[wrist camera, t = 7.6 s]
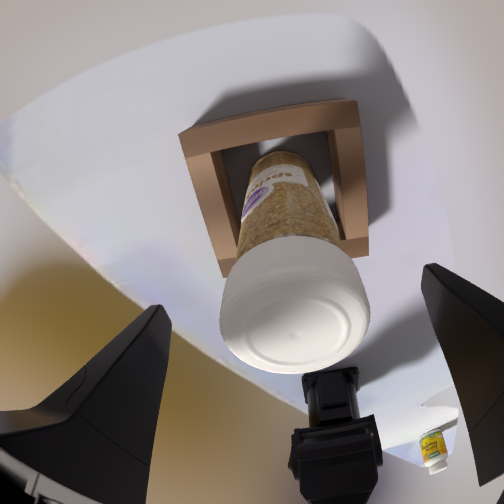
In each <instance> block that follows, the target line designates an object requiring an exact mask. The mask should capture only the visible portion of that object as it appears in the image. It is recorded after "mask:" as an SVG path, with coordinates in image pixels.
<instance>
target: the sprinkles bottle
mask: <svg viewBox="0 0 504 504" xmlns="http://www.w3.org/2000/svg"><path fill="white" fill-rule="evenodd" d="M219 323H220V331H221V334H222V337H223V339H224V341H225V343H226V345H227V346H228V348H229V349H230V350H231V351H232V352H233V353H234V354H235V355H236V356H237V357H238V358H239V359H241V360H242V361H244V362H245V363H247V364H249V365H251V366H253V367H256V368H258V369H261V370H264V371H268V372H273V373H281V374H299V373H307V372H313V371H317V370H320V369H323V368H326V367H328V366H331V365H333V364H335V363H337V362H339V361H340V360H342V359H344V358H345V357H346V356H348V355H349V354H350V353H351V352H353V351H354V349H355V348H356V347H357V346H358V345H359V344H360V342H361V341H362V340H363V338H364V336H365V334H366V332H367V330H368V326H369V323H370V306H369V302H368V298H367V295H366V292H365V288H364V286H363V283H362V280H361V277H360V275H359V272H358V270H357V268H356V266H355V264H354V262H353V261H352V259H351V258H350V257H349V256H348V255H347V254H346V253H345V250H344V247H343V245H342V243H341V239H340V237H339V231H338V227H337V224H336V222H335V219H334V217H333V215H332V212H331V210H330V208H329V206H328V203H327V201H326V199H325V196H324V194H323V192H322V190H321V188H320V186H319V184H318V182H317V181H316V179H315V175H314V173H313V171H312V168H311V166H310V165H309V164H308V162H307V161H306V160H305V159H304V158H303V157H301V156H299V155H297V154H295V153H292V152H286V151H277V152H272V153H269V154H267V155H266V156H263V157H262V158H261V159H259V160H258V161H257V162H256V163H255V164H254V165H253V167H252V169H251V171H250V175H249V180H248V189H247V192H246V197H245V202H244V207H243V213H242V218H241V229H240V235H239V241H238V247H237V255H236V261H235V264H234V266H233V267H232V269H231V271H230V273H229V275H228V277H227V280H226V284H225V288H224V293H223V298H222V304H221V310H220V318H219Z"/></svg>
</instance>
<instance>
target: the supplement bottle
mask: <svg viewBox="0 0 504 504" xmlns="http://www.w3.org/2000/svg"><path fill="white" fill-rule="evenodd" d="M419 443H420V447H421V451H422V456H423V460H424V465H425V466H426V467H430V468H429V473H430V474H434V473H437V472H440V471H442V470H444V469H446V468H447V462H445V460H446V459H447V457H448V453H447V449H446V445H445V441H444V438H443V434H442V431H441V429H434V430H431V431H429V432H427V433H425V434H423V435H422V436H421V437H420V438H419Z"/></svg>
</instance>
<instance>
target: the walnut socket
mask: <svg viewBox="0 0 504 504" xmlns="http://www.w3.org/2000/svg"><path fill="white" fill-rule="evenodd" d="M321 131H326V132H327V139H328V145H329V152H330V159H331V167H332V174H333V182H334V191H335V200H336V210H337V219H335V222H336V224H337V227H338V231H339V237H340V239H341V243H342V245H343V247H344V250H345V253H346V254H347V255H348V256H349V257H350V258H357V257H363V256H369V235H368V207H367V189H366V176H365V164H364V154H363V144H362V136H361V128H360V120H359V113H358V106H357V101H354V100H349V99H334V100H325V101H317V102H309V103H302V104H295V105H289V106H283V107H277V108H271V109H266V110H261V111H256V112H251V113H246V114H241V115H237V116H232V117H228V118H224V119H219V120H215V121H211V122H207V123H204V124H200V125H196V126H192V127H190V128H188V129H186V130H185V131H183V132H181V133H179V134H178V136H179V139H180V143H181V146H182V150H183V153H184V156H185V160H186V163H187V166H188V170H189V173H190V176H191V180H192V183H193V186H194V189H195V193H196V196H197V199H198V202H199V205H200V209H201V212H202V215H203V218H204V221H205V224H206V227H207V231H208V234H209V237H210V240H211V243H212V246H213V249H214V252H215V255H216V258H217V261H218V264H219V267H220V270H221V273H222V276H223V278H227V277H228V275H229V273H230V271H231V269H232V267H233V266H234V264H235V261H236V255H237V247H238V241H239V235H240V229H241V225H240V222H239V218H238V214H237V210H236V207H235V203H234V199H233V195H232V191H231V188H230V184H229V180H228V176H227V173H226V169H225V165H224V161H223V157H222V154H221V150H222V149H227V148H231V147H236V146H240V145H245V144H250V143H255V142H260V141H265V140H271V139H276V138H282V137H288V136H294V135H300V134H307V133H314V132H321Z"/></svg>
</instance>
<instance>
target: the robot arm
mask: <svg viewBox="0 0 504 504" xmlns="http://www.w3.org/2000/svg"><path fill="white" fill-rule="evenodd" d="M421 290H422V294H423V297H424V300H425V303H426V306H427V309H428V312H429V315H430V319H431V322H432V325H433V328H434V331H435V333H436V336H437V338H438V341H439V343H440V346H441V348H442V351H443V354H444V356H445V359H446V362H447V364H448V367H449V370H450V373H451V376H452V379H453V382H454V385H455V388H456V390H457V394H458V397H459V400H460V403H461V407H462V410H463V414H464V417H465V421H466V425H467V429H468V432H469V437H470V441H471V446H472V450H473V454H474V460H475V465H476V470H477V476H478V482H479V486H480V487H481V486H483V485H485V484H487V483H488V482H491V481H492V480H494V479H496V478H498V477H500V476H502V475H503V474H504V302H502V301H501V300H499V299H497V298H495V297H494V296H492V295H491V294H489V293H487V292H486V291H484V290H482V289H481V288H479V287H477V286H476V285H474V284H472V283H471V282H469V281H467V280H465V279H464V278H462V277H460V276H458V275H457V274H455V273H453V272H451V271H449V270H448V269H446V268H444V267H442V266H440V265H439V264H437V263H431V264H426V265H425V266H424V268H423V274H422V281H421ZM171 330H172V323H171V320H170V318H169V316H168V314H167V313H166V311H165V309H164V307H163V306H162V305H160V304H159V305H151V306H149V307H148V308H147V309H146V310H145V311H144V312H143V313H142V314H140V315H139V316H138V317H137V318H136V319H135V320H134V321H133V322H132V323H130V324H129V325H128V326H127V327H126V328H125V329H124V330H123V331H122V332H120V333H119V334H118V335H117V336H116V337H115V338H114V339H113V340H112V341H110V342H109V343H108V344H107V345H106V346H105V347H104V348H103V349H102V350H101V351H99V352H98V353H97V354H96V355H95V356H94V357H93V358H92V359H91V360H90V361H89V362H88V363H86V365H84V366H83V367H82V368H81V369H80V370H79V371H78V372H77V373H76V374H74V375H73V376H72V377H71V378H70V379H69V380H67V381H66V382H65V383H64V384H63V385H61V386H60V387H59V388H58V389H57V390H55V391H54V392H53V393H52V394H51V395H49V396H48V397H47V398H45V399H44V400H43V401H42V402H41V403H39V404H38V405H36V406H34V407H32V408H30V409H25V410H13V411H0V504H145V503H146V495H147V487H148V479H149V471H150V463H151V457H152V449H153V444H154V438H155V432H156V425H157V420H158V414H159V409H160V403H161V398H162V392H163V387H164V381H165V377H166V372H167V366H168V360H169V350H170V339H171ZM358 374H359V371H358V368H356V367H354V368H348V369H343V370H337V371H330V372H324V373H317V374H310V375H304V376H302V385H303V391H304V397H305V403H306V404H308V414H309V428H303V429H300V428H296V429H294V434H293V435H292V447H291V453H290V457H289V462H288V468H289V469H290V470H291V471H292V472H293V475H294V478H295V480H296V481H299V482H300V492H301V494H302V495H303V497H304V498H305V499H306V501H307V502H308V503H309V504H366V503H367V501H368V499H369V497H370V495H371V493H372V491H373V489H374V487H375V485H376V483H377V481H378V472H377V468H378V467H381V466H382V464H383V459H382V448H381V443H380V438H379V434H378V430H377V426H376V422H375V418H374V414H372V415H369V416H367V417H363V418H360V413H359V407H358V402H357V396H356V393H357V384H358ZM497 504H504V490H503V492H502V494H501V496H500V498H499V500H498V502H497Z"/></svg>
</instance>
